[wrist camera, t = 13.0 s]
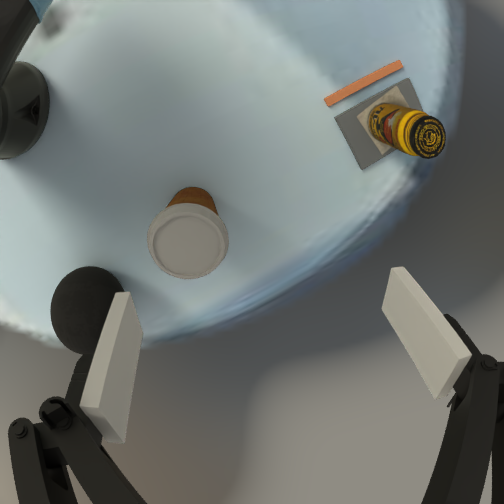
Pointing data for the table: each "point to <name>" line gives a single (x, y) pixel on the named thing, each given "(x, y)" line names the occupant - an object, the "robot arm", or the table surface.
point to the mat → (357, 134)
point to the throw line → (362, 82)
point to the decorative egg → (83, 307)
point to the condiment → (402, 127)
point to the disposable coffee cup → (188, 235)
